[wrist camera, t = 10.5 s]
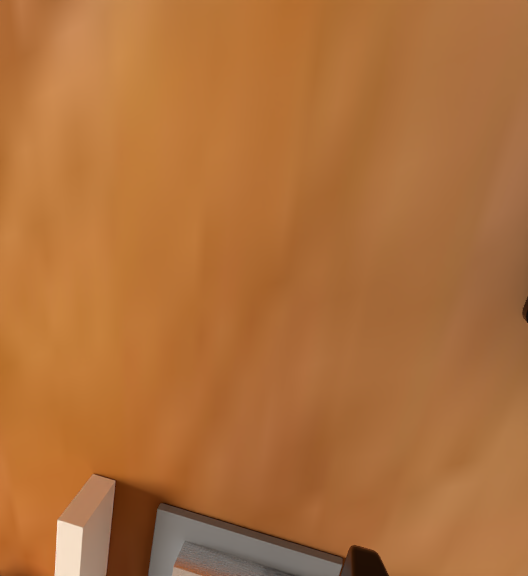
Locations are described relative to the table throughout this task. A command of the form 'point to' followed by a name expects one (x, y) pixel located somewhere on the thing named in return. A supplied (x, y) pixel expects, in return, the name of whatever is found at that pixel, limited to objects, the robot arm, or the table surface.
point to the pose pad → (231, 545)
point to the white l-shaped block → (86, 530)
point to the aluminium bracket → (217, 564)
